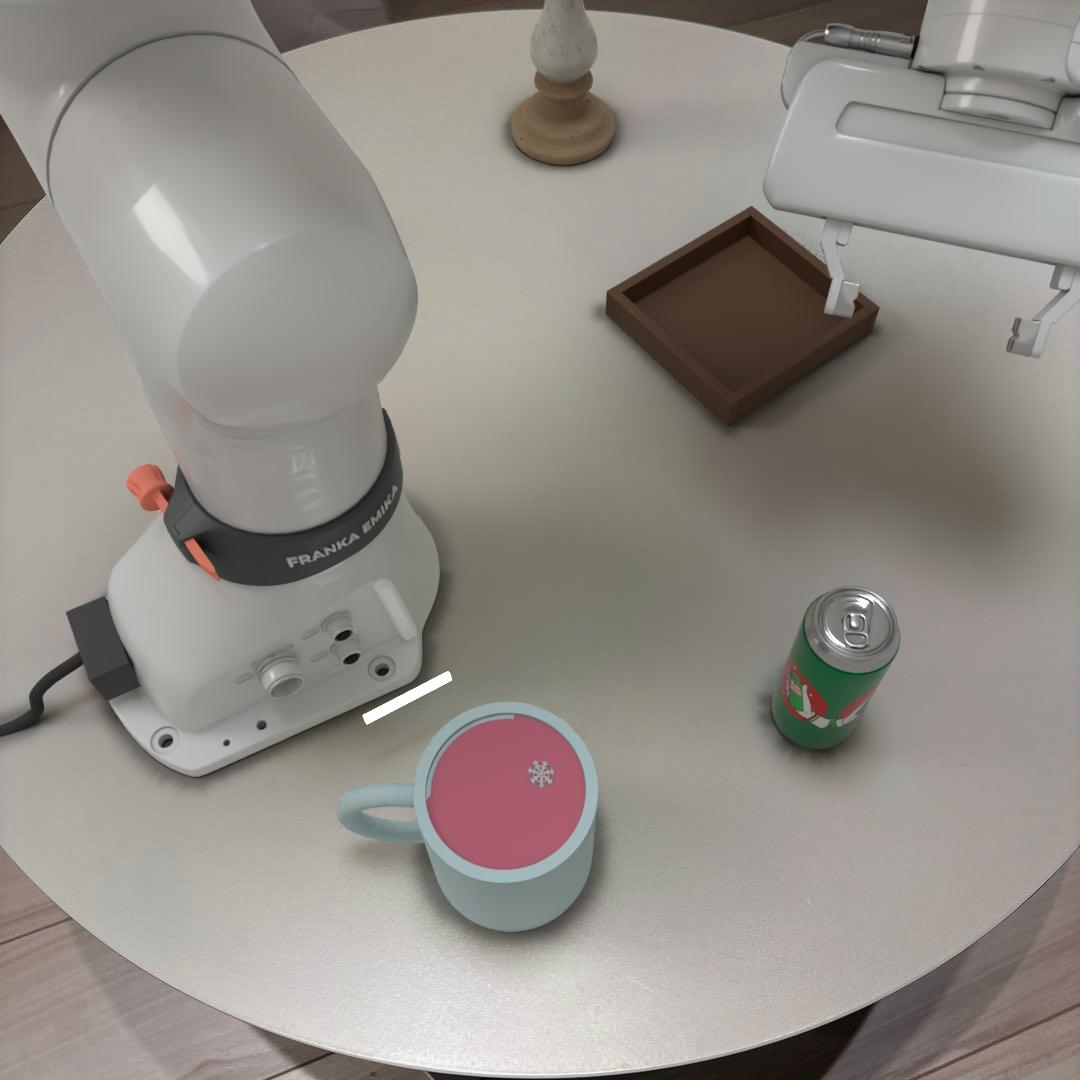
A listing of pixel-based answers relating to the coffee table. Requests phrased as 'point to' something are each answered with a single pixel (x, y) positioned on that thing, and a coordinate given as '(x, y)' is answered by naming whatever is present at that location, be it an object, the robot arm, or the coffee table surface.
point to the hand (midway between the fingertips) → (928, 335)
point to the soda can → (835, 666)
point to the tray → (737, 314)
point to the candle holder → (563, 90)
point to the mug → (496, 814)
